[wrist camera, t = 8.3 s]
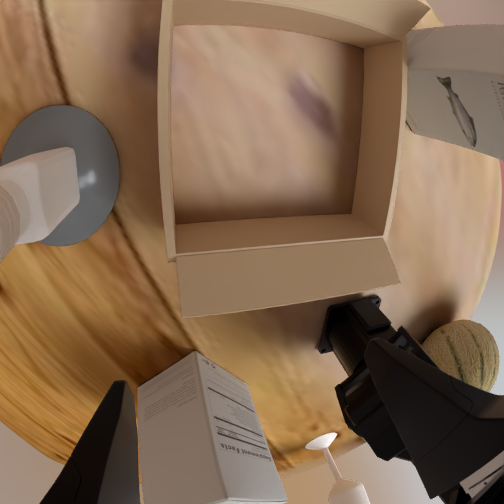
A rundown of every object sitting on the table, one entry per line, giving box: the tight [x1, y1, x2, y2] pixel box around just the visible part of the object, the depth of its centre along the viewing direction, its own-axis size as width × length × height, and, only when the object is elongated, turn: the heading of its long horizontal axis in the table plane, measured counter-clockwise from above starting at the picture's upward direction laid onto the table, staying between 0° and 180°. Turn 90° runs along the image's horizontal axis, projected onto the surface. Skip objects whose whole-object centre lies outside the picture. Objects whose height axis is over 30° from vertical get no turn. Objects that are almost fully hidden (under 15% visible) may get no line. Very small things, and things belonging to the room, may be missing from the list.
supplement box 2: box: [405, 24, 504, 161], centre depth 13 cm, size 7×7×13 cm
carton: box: [157, 0, 430, 318], centre depth 15 cm, size 19×15×7 cm
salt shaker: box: [0, 147, 80, 262], centre depth 11 cm, size 4×4×10 cm
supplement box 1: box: [137, 351, 288, 504], centre depth 21 cm, size 9×9×15 cm
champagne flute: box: [305, 433, 370, 504], centre depth 35 cm, size 7×7×24 cm
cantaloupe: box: [421, 320, 499, 392], centre depth 31 cm, size 15×15×15 cm
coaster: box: [0, 105, 120, 246], centre depth 15 cm, size 10×10×1 cm
